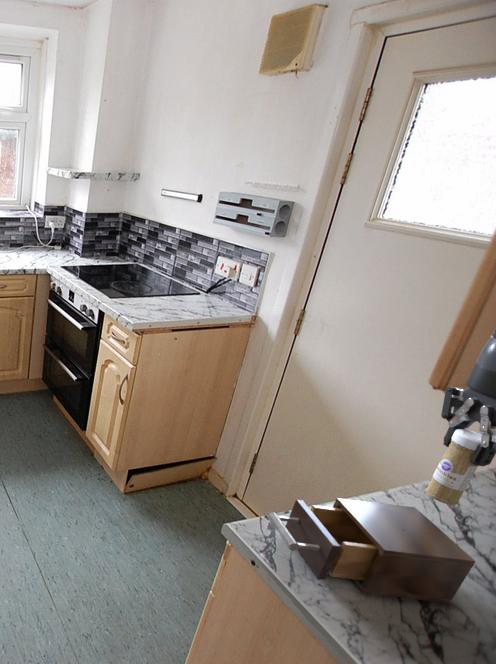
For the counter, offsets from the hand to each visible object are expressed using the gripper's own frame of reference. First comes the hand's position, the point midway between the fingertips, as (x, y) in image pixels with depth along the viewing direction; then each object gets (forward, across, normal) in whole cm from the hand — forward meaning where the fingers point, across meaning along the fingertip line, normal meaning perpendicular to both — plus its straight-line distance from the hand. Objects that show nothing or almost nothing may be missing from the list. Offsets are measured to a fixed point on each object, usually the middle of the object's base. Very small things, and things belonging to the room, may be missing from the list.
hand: (463, 455), depth 81 cm
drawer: (+18, +9, -24) cm, 31 cm away
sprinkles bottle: (+10, 0, 0) cm, 10 cm away
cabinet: (+19, +9, -14) cm, 25 cm away
